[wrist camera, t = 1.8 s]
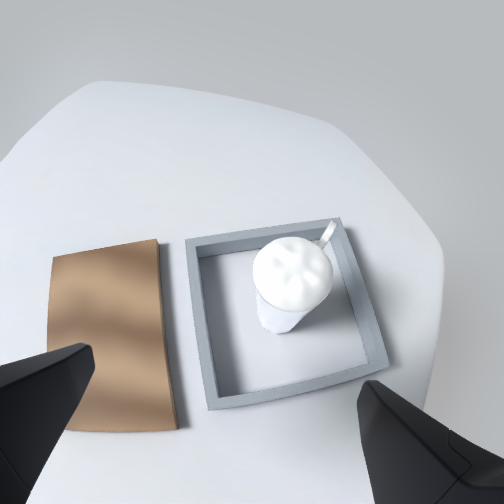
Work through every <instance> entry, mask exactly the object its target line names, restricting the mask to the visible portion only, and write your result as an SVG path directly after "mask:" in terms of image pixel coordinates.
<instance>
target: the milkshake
mask: <svg viewBox="0 0 504 504" xmlns="http://www.w3.org/2000/svg"><path fill="white" fill-rule="evenodd" d="M337 226H338V223H337V222H335V221H334V220H331V222H330V224H329V225H328V227H327V228H326V230H325V232H324V233H323V235H322V237H321V238H320V240H319V241H318V243H317V245H316V244H314V243H312V242H311V241H309V240H307V239H304V238H300V237H284V238H279V239H276V240H274V241H272V242H270V243H269V244H267V245H266V246H265V247H264V248H262V249H261V250H260V251H259V253H258V254H257V256H256V258H255V260H254V263H253V280H254V286H255V292H256V302H257V314H258V318H259V320H260V322H261V324H262V326H263V328H264V329H266V330H268V331H270V332H272V333H274V334H280V333H287V332H289V331H290V330H291V329H292V328H293V327H294V326H295V325H296V324H297V323H298V322H299V321H300V320H301V319H302V318H303V317H305V316H306V315H307V314H308V313H310V312H311V311H312V310H313V309H314V308H315V307H317V306H318V305H319V304H320V303H321V302H322V301H323V300H324V299H325V298H326V297H327V296H328V294H329V293H330V291H331V288H332V284H333V267H332V264H331V261H330V260H329V258H328V256H327V255H326V254H325V253H324V251H323V248H324V247H325V245H326V244H327V242H328V240H329V239H330V237H331V236H332V234H333V233H334V231H335V230H336V228H337Z"/></svg>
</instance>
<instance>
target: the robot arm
mask: <svg viewBox="0 0 504 504" xmlns="http://www.w3.org/2000/svg"><path fill="white" fill-rule="evenodd" d="M94 371H95V361H94V355H93V350H92V347H91V346H90V345H89V344H85V343H82V342H80V343H76V344H73V345H70V346H66V347H63V348H60V349H56V350H53V351H50V352H46V353H43V354H40V355H36V356H33V357H29V358H26V359H22V360H19V361H15V362H12V363H8V364H5V365H1V366H0V504H26V501H27V499H28V497H29V495H30V493H31V492H30V491H32V489H33V487H34V485H35V483H36V481H37V479H38V477H39V475H40V473H41V471H42V469H43V467H44V466H45V464H46V462H47V460H48V458H49V456H50V454H51V453H52V451H53V449H54V447H55V445H56V443H57V442H58V440H59V438H60V436H61V435H62V433H63V431H64V429H65V428H66V426H67V424H68V422H69V421H70V419H71V417H72V416H73V414H74V412H75V410H76V409H77V407H78V405H79V403H80V401H81V399H82V397H83V395H84V393H85V391H86V388H87V386H88V384H89V382H90V380H91V378H92V375H93V373H94ZM357 411H358V419H359V427H360V436H361V443H362V448H363V452H364V456H365V461H366V465H367V469H368V474H369V478H370V483H371V487H372V492H373V497H374V501H375V504H504V459H503V458H501V457H499V456H497V455H495V454H493V453H491V452H489V451H487V450H485V449H483V448H481V447H479V446H477V445H475V444H473V443H472V442H470V441H468V440H466V439H465V438H463V437H461V436H460V435H458V434H457V433H455V432H453V431H452V430H449V428H447V427H446V426H444V425H443V424H441V423H440V422H438V421H437V420H435V419H433V418H432V417H431V416H429V415H428V414H426V413H425V412H423V411H422V410H420V409H419V408H417V407H416V406H414V405H413V404H411V403H410V402H408V401H407V400H405V399H404V398H402V397H401V396H399V395H398V394H396V393H395V392H393V391H392V390H391V389H389V388H388V387H386V386H385V385H383V384H382V383H380V382H379V381H377V380H366V381H365V382H364V383H363V386H362V389H361V391H360V394H359V397H358V400H357Z"/></svg>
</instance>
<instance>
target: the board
mask: <svg viewBox="0 0 504 504" xmlns="http://www.w3.org/2000/svg"><path fill="white" fill-rule="evenodd" d="M80 342H82V343H85V344H89V345H90V346H91V347H92V350H93V355H94V361H95V371H94V373H93V375H92V378H91V380H90V382H89V384H88V386H87V388H86V391H85V393H84V395H83V397H82V399H81V401H80V403H79V405H78V407H77V409H76V410H75V412H74V414H73V416H72V417H71V419H70V421H69V422H68V424H67V426H66V428H65V429H67V430H80V431H102V432H142V431H164V430H177V429H179V427H178V421H177V416H176V410H175V404H174V397H173V391H172V384H171V377H170V370H169V362H168V354H167V346H166V337H165V327H164V317H163V305H162V293H161V278H160V260H159V244H158V242H157V239H152V240H146V241H140V242H134V243H128V244H122V245H117V246H111V247H105V248H100V249H94V250H89V251H83V252H78V253H73V254H67V255H62V256H57V257H53V263H52V271H51V280H50V290H49V303H48V322H47V352H50V351H53V350H56V349H60V348H63V347H66V346H70V345H73V344H76V343H80Z"/></svg>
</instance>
